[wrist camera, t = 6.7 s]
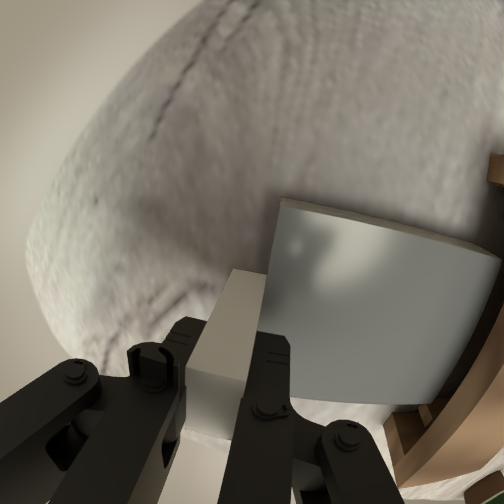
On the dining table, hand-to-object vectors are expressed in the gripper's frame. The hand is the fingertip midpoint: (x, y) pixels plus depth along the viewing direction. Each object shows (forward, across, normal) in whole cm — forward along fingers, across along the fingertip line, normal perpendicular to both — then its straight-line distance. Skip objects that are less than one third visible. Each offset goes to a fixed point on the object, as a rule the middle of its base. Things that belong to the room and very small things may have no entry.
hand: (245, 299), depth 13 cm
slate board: (+2, +6, 0) cm, 6 cm away
